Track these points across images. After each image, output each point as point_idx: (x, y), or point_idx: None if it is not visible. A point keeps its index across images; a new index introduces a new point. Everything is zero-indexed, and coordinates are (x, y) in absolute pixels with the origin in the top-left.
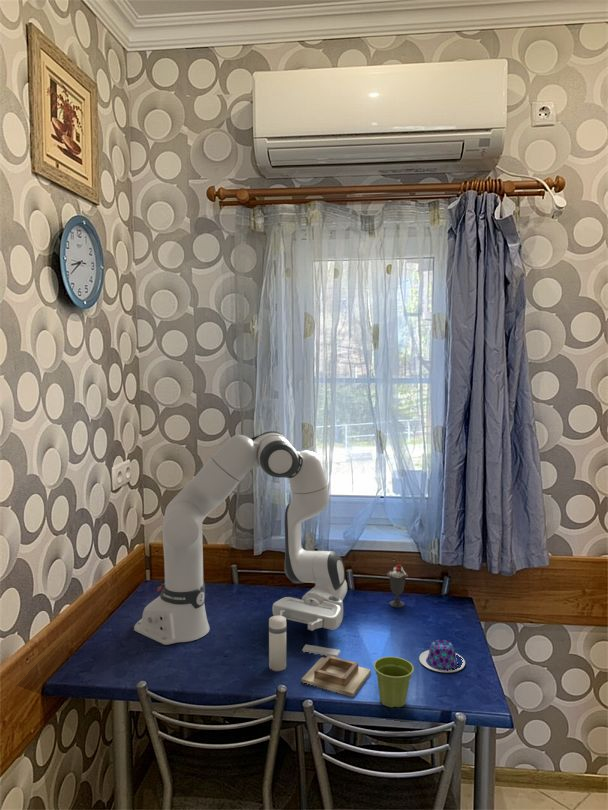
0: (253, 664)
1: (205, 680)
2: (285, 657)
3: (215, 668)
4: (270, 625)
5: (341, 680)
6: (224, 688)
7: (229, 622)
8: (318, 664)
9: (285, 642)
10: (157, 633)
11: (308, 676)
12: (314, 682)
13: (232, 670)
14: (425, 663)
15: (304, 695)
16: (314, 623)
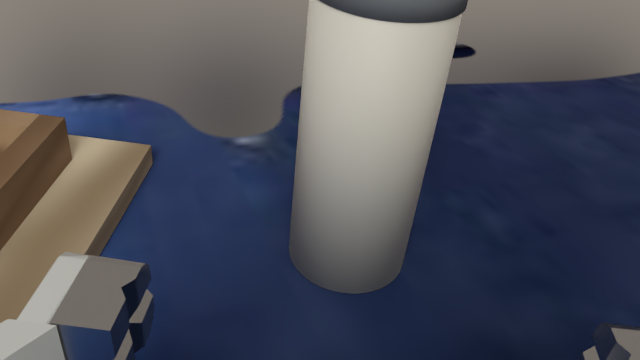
0: (498, 240)
1: (584, 117)
2: (294, 184)
3: (636, 178)
4: None
5: None
6: (474, 97)
7: None
8: (43, 272)
9: (302, 80)
10: None
11: (110, 164)
12: (69, 135)
13: (551, 180)
14: None
15: (120, 107)
16: (32, 299)
